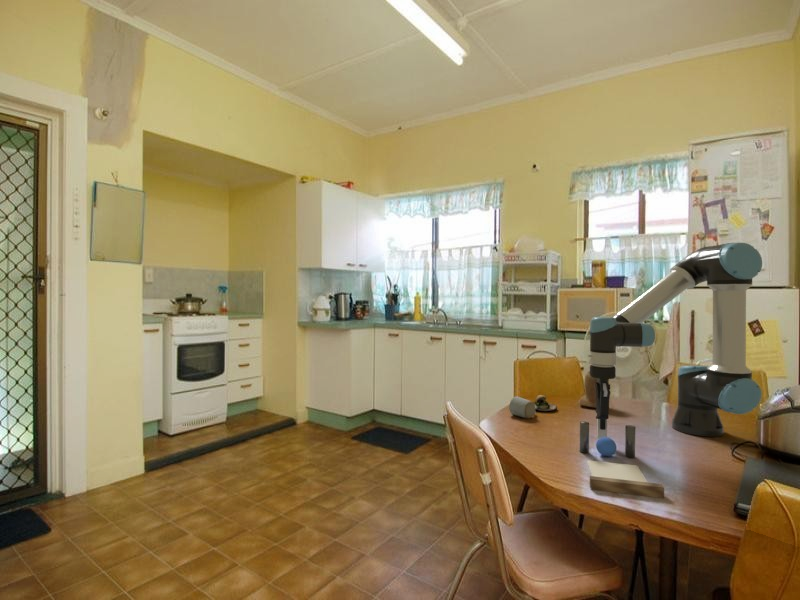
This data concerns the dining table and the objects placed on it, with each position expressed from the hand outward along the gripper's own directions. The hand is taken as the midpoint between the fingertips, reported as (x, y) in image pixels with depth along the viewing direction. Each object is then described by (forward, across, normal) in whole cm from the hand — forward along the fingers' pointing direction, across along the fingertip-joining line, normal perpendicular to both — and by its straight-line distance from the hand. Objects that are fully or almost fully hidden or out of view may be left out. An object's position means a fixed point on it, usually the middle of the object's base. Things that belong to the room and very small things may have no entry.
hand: (601, 438), depth 139 cm
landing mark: (+2, +23, 0) cm, 23 cm away
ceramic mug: (+2, -27, -24) cm, 36 cm away
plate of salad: (+3, -40, -17) cm, 44 cm away
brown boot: (+2, -53, +5) cm, 53 cm away
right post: (+2, +9, +6) cm, 11 cm away
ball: (-1, +10, 0) cm, 11 cm away
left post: (+2, +9, -6) cm, 11 cm away
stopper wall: (+2, +35, 0) cm, 35 cm away
